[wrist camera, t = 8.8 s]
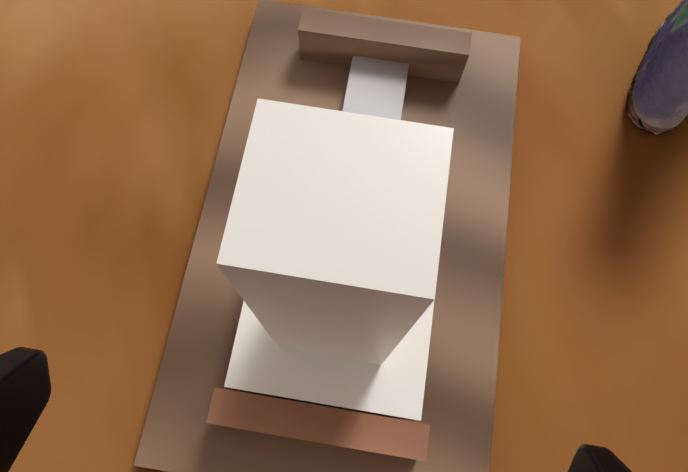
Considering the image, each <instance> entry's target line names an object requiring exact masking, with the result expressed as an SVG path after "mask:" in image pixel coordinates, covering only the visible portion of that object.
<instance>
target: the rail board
mask: <svg viewBox="0 0 688 472" xmlns="http://www.w3.org/2000/svg"><path fill="white" fill-rule="evenodd" d="M519 51H520V37H517V36H511V35H504V34H497V33H490V32H483V31H476V30H469V29H462V28H456V27H449V26H442V25H435V24H428V23H421V22H414V21H407V20H401V19H394V18H387V17H380V16H373V15H366V14H359V13H352V12H345V11H339V10H332V9H325V8H318V7H311V6H304V5H297V4H290V3H284V2H277V1H270V0H258V4H257V8H256V11H255V15H254V19H253V22H252V26H251V30H250V34H249V37H248V41H247V45H246V49H245V52H244V56H243V60H242V63H241V67H240V71H239V75H238V78H237V82H236V86H235V90H234V93H233V97H232V101H231V104H230V108H229V112H228V116H227V119H226V123H225V127H224V131H223V134H222V138H221V142H220V146H219V149H218V153H217V157H216V160H215V164H214V168H213V172H212V175H211V179H210V183H209V187H208V190H207V194H206V198H205V201H204V205H203V209H202V213H201V216H200V220H199V224H198V228H197V231H196V235H195V239H194V243H193V246H192V250H191V254H190V257H189V261H188V265H187V269H186V272H185V276H184V280H183V284H182V287H181V291H180V295H179V298H178V302H177V306H176V310H175V313H174V317H173V321H172V325H171V328H170V332H169V336H168V339H167V343H166V347H165V351H164V354H163V358H162V362H161V366H160V369H159V373H158V377H157V381H156V384H155V388H154V392H153V395H152V399H151V403H150V407H149V410H148V414H147V418H146V422H145V425H144V429H143V433H142V436H141V440H140V444H139V448H138V451H137V455H136V459H135V463H134V466H139V467H144V468H150V469H155V470H161V471H166V472H490V462H491V448H492V434H493V419H494V405H495V391H496V377H497V363H498V349H499V334H500V320H501V306H502V292H503V278H504V264H505V249H506V235H507V221H508V207H509V193H510V179H511V164H512V150H513V136H514V122H515V108H516V94H517V79H518V65H519ZM258 98H259V99H265V100H272V101H278V102H285V103H292V104H298V105H305V106H311V107H318V108H324V109H331V110H338V111H344V112H351V113H357V114H364V115H370V116H377V117H384V118H390V119H397V120H403V121H410V122H416V123H423V124H430V125H436V126H443V127H449V128H454V131H453V140H452V149H451V158H450V167H449V176H448V185H447V194H446V203H445V212H444V221H443V230H442V239H441V248H440V257H439V265H438V274H437V283H436V292H435V300H434V309H433V318H432V327H431V336H430V345H429V354H428V363H427V372H426V381H425V390H424V399H423V408H422V417H421V421H415V420H409V419H404V418H398V417H392V416H386V415H381V414H375V413H369V412H363V411H357V410H352V409H346V408H340V407H334V406H328V405H323V404H317V403H311V402H305V401H299V400H294V399H288V398H282V397H276V396H270V395H265V394H259V393H253V392H247V391H241V390H236V389H230V388H226V387H224V385H225V380H226V376H227V371H228V367H229V363H230V358H231V354H232V350H233V345H234V341H235V336H236V332H237V328H238V323H239V319H240V314H241V310H242V306H243V301H244V300H243V299H242V297H241V296H240V295H239V293H238V292H237V291H236V289H235V288H234V287H233V285H232V284H231V283H230V281H229V280H228V279H227V277H226V276H225V275H224V273H223V272H222V271H221V269H220V268H219V267H218V265H217V264H216V263H217V259H218V255H219V251H220V247H221V243H222V239H223V235H224V231H225V227H226V223H227V219H228V215H229V211H230V207H231V203H232V199H233V195H234V191H235V187H236V183H237V179H238V175H239V171H240V167H241V163H242V159H243V155H244V151H245V147H246V143H247V139H248V135H249V131H250V127H251V123H252V119H253V115H254V111H255V107H256V103H257V99H258Z"/></svg>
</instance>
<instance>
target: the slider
mask: <svg viewBox="0 0 688 472" xmlns="http://www.w3.org/2000/svg"><path fill="white" fill-rule="evenodd" d="M453 131H454V128H449V127H443V126H436V125H430V124H423V123H416V122H410V121H403V120H397V119H390V118H384V117H377V116H370V115H364V114H357V113H351V112H344V111H338V110H331V109H324V108H318V107H311V106H305V105H298V104H292V103H285V102H278V101H272V100H265V99H259V98H258V99H257V103H256V107H255V111H254V115H253V119H252V123H251V127H250V131H249V135H248V139H247V143H246V147H245V151H244V155H243V159H242V163H241V167H240V171H239V175H238V179H237V183H236V187H235V191H234V195H233V199H232V203H231V207H230V211H229V215H228V219H227V223H226V227H225V231H224V235H223V239H222V243H221V247H220V251H219V255H218V259H217V263H216V264H217V265H218V267H219V268H220V269H221V271H222V272H223V273H224V275H225V276H226V277H227V279H228V280H229V281H230V283H231V284H232V285H233V287H234V288H235V289H236V291H237V292H238V293H239V295H240V296H241V297H242V299H243V300H244V301H243V306H242V310H241V314H240V319H239V323H238V328H237V332H236V336H235V341H234V345H233V350H232V354H231V358H230V363H229V367H228V371H227V376H226V380H225V385H224V387H226V388H230V389H236V390H241V391H247V392H253V393H259V394H265V395H270V396H276V397H282V398H288V399H294V400H299V401H305V402H311V403H317V404H323V405H328V406H334V407H340V408H346V409H352V410H357V411H363V412H369V413H375V414H381V415H386V416H392V417H398V418H404V419H409V420H415V421H421V417H422V408H423V399H424V390H425V381H426V372H427V363H428V354H429V345H430V336H431V327H432V318H433V309H434V300H435V292H436V283H437V274H438V265H439V257H440V248H441V239H442V230H443V221H444V212H445V203H446V194H447V185H448V176H449V167H450V158H451V149H452V140H453Z"/></svg>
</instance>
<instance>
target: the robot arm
mask: <svg viewBox="0 0 688 472" xmlns="http://www.w3.org/2000/svg"><path fill="white" fill-rule="evenodd" d="M50 393H51V383H50V376H49V369H48V362H47V356H46V354H45V353H44V352H43V351H41V350H37V349H31V348H25V347H18V348H15V349H13V350H10V351H8V352H6V353H3V354H1V355H0V472H8V471H9V470H10V468H11V466H12V464H13V463H14V461H15V459H16V457H17V455H18V454H19V452H20V450H21V448H22V447H23V445H24V443H25V441H26V440H27V438H28V436H29V434H30V433H31V431H32V429H33V427H34V425H35V424H36V422H37V420H38V418H39V417H40V415H41V413H42V411H43V410H44V408H45V406H46V404H47V402H48V400H49V397H50ZM568 472H632V471H631V470H630V469H629V468H628V467H627V466H626V465H625V464H624V463H623V462H622V461H621V460H620V459H619V458H618V457H617V456H616V455H615V454H614V453H613V452H611V451H610V450H609V449H607V448H605V447H600V446H594V445H588V444H583V445H581V446H580V447H579V448H578V449H577V451H576V454H575V456H574V458H573V460H572V463H571V465H570V467H569V470H568Z"/></svg>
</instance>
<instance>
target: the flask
mask: <svg viewBox="0 0 688 472" xmlns="http://www.w3.org/2000/svg"><path fill="white" fill-rule="evenodd" d="M666 18H667V19H666V20H665V21H664V22H663V23H662V24H661V26H660V27H659V28H658V29H657V32H656V34H655V35H654V36H653V37H652V39H651V43H650V46H649V47H648V50H647V51H646V52H645V55H644V57H643V60H642V62H641V64H640V65H639V67H638V71H637V73H636V75H634V78H633V82H632V86H631V87H630V89H629V92H628V93H629V95H628V101H627V104H628V105H627V109H628V116H629V117H630V118H631V120H632V121H633V123H634V124H635V125H636V126H637V127H640V128H643V127H642V126H641V125H640V124H639V122H638V118H639V119H640V120H641V121H642V122H641V123H642V124H643V126H644V127H645V128H643V129H645V130H646V131H650V132H653V133H654V134H655V135H657V134H660V133H662V132H666V131H669V130H671V129H674V128H675V127H676V126H677V125H679V124H680V123H681V122H682V121H683V120H684V118H685V117H686V116H687V115H688V0H683V1H682V2H681V3H679V5H678V6H677V7H676V8H675V10H674V11H673V12H672V13H670V14H669V15H668V16H667V17H666Z"/></svg>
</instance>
